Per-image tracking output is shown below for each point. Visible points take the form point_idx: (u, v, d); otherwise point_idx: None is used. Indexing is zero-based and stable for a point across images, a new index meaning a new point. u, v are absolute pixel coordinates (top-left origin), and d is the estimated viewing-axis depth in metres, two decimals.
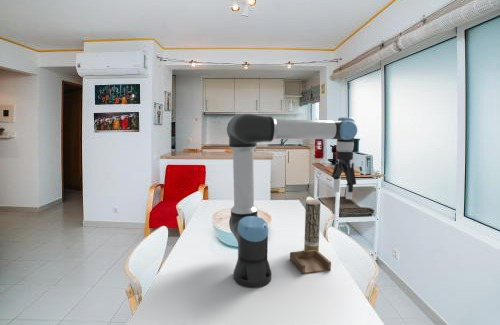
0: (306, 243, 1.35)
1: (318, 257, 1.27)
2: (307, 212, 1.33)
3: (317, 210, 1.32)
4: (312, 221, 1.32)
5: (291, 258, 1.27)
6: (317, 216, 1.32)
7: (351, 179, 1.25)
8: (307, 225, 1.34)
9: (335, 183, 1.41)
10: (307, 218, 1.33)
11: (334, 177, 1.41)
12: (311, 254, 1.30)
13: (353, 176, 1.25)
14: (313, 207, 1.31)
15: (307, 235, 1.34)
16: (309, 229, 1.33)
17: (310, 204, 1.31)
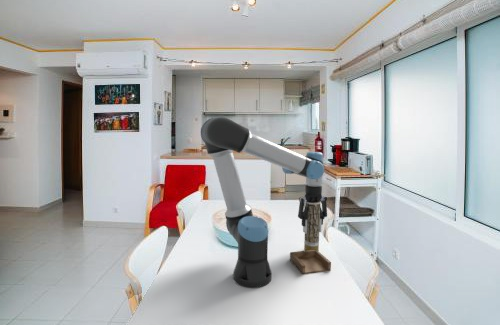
0: (306, 243, 1.35)
1: (318, 257, 1.27)
2: None
3: (317, 210, 1.32)
4: (312, 221, 1.32)
5: (291, 258, 1.27)
6: (317, 216, 1.32)
7: (298, 213, 1.34)
8: (307, 225, 1.34)
9: None
10: (307, 218, 1.33)
11: None
12: (311, 254, 1.30)
13: (300, 211, 1.32)
14: (313, 207, 1.31)
15: (307, 235, 1.34)
16: (309, 229, 1.33)
17: (310, 204, 1.31)
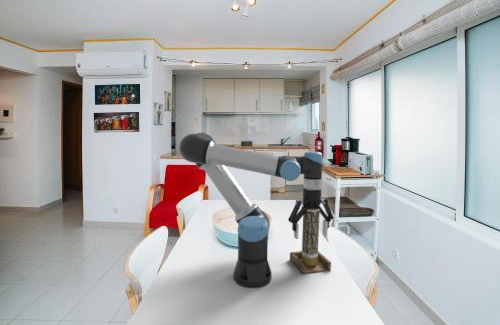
0: (304, 254, 1.21)
1: (318, 257, 1.27)
2: (305, 220, 1.20)
3: (316, 218, 1.18)
4: (311, 231, 1.19)
5: (291, 258, 1.27)
6: (316, 224, 1.19)
7: (290, 216, 1.19)
8: (305, 234, 1.20)
9: (323, 224, 1.24)
10: (305, 227, 1.20)
11: (324, 217, 1.24)
12: None
13: (292, 214, 1.18)
14: (312, 214, 1.18)
15: (305, 245, 1.21)
16: (307, 238, 1.20)
17: (308, 211, 1.18)
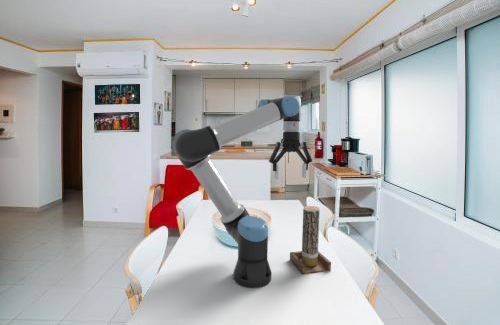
0: (304, 254, 1.21)
1: (318, 257, 1.27)
2: (305, 220, 1.20)
3: (316, 218, 1.18)
4: (311, 231, 1.18)
5: (291, 258, 1.27)
6: (316, 224, 1.19)
7: (270, 157, 1.27)
8: (305, 234, 1.20)
9: (302, 167, 1.32)
10: (305, 227, 1.20)
11: (303, 161, 1.32)
12: None
13: (272, 155, 1.26)
14: (312, 214, 1.18)
15: (305, 245, 1.21)
16: (307, 238, 1.20)
17: (308, 211, 1.18)
